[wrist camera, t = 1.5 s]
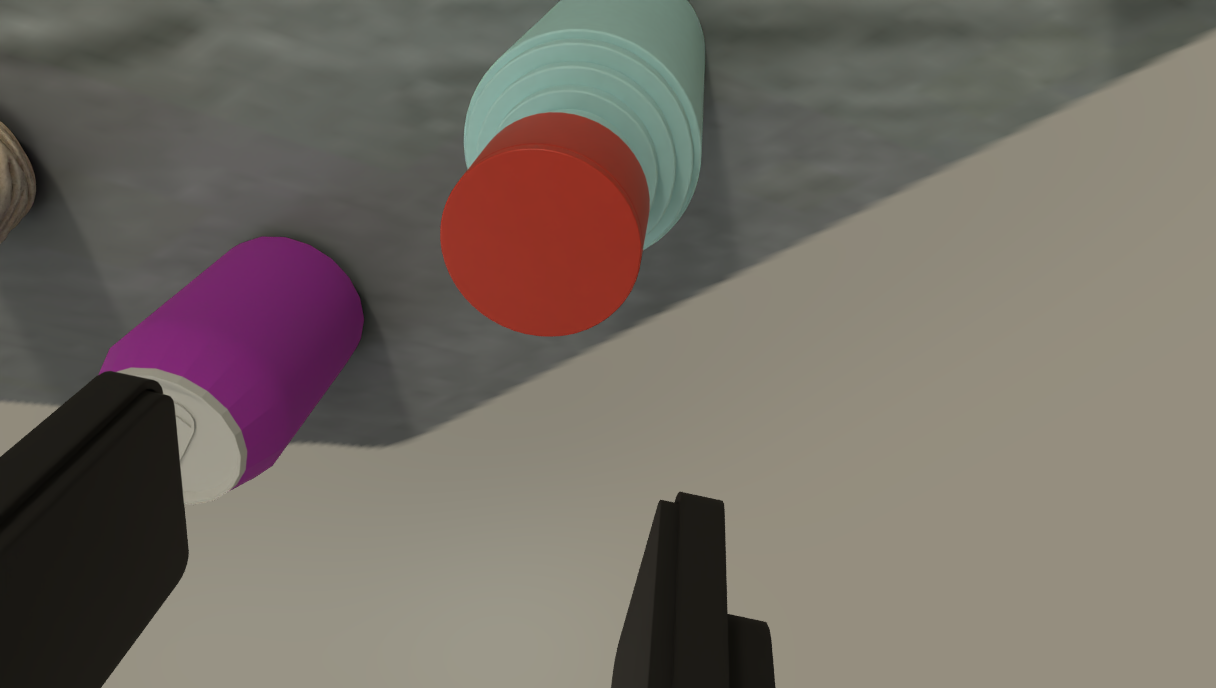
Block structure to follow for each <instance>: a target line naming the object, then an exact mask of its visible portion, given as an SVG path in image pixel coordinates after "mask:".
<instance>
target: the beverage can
mask: <svg viewBox="0 0 1216 688" xmlns="http://www.w3.org/2000/svg"><path fill="white" fill-rule="evenodd" d="M363 323H364V316H363V311H362V305H361V300H360V297H359V295H358V293H357V291H356V289H355V288H354V286H353V284H352V282H351V280H350V278H349V277H348V276H347V275H346V273H345V272H344V271H343V270H342V269H341V268H340V267H339V266H338V265H337V264H336V263H335V262H334V261H333V260H332V259H331V258H330V257H328V256H326V255H325V254H323V253H322V252H320V251H319V250H317V249H315V248H314V247H312V246H311V245H309V244H305V243H302V242H299V241H296V240H293V239H290V238H287V237H259V238H256V239H253V240H249V241H246V242H243V243H241V244H239V245H237V246H235V247H233V248H232V249H231V250H229V251H228V252H227V253H226V254H225V255H223V256H222V257H221V258H220V259H218V260H217V261H216V262H215V263H214V264H212V265H211V266H210V267H209V268H207V269H206V270H205V271H204V272H202V273H201V274H200V275H199V276H198V277H196V278H195V279H194V280H193V281H191V282H190V283H189V284H188V285H187V286H185V287H184V288H183V289H182V290H180V291H179V292H178V293H177V294H176V295H174V296H173V297H172V298H171V299H169V300H168V301H167V302H166V303H165V304H163V305H162V306H161V307H160V308H158V309H157V310H156V311H155V312H153V313H152V314H151V315H150V316H149V317H147V318H146V319H145V320H144V321H142V322H141V323H140V324H139V325H138V326H136V327H135V328H134V329H133V330H131V331H130V332H129V333H128V334H127V335H125V336H124V337H123V338H122V339H121V340H119V341H118V342H117V343H116V344H115V345H113V346H112V347H111V348H110V349H109V351H108V354H107V356H106V358H105V361H104V363H103V365H102V368H101V370H100V373H99V374H101V373H103V372H106V371H114V372H119V373H123V374H128V375H133V376H137V377H142V378H147V379H152V380H155V381H157V382H159V384H160V385H161V387H162V390H163V394H165V395H168V396H171V398H172V399H173V401H174V405H175V415H176V425H177V436H178V446H179V457H180V467H181V477H182V488H183V498H184V504H199V503H204V502H208V501H213V500H216V499H217V498H219V497H220V496H222V495H223V494H225V493H226V492H228V491H230V490H232V489H234V488H236V487H238V486H239V485H241V484H243V483H245V482H247V481H249V480H251V479H253V478H255V477H256V476H258V475H259V474H261V473H262V472H264V471H265V470H267V469H268V468H270V467H271V466H273V464H274V463H275V461H276V460H277V459H278V457H279V456H280V455H281V453H282V452H283V450H284V449H285V448H286V446H287V445H288V444H289V442H290V441H291V439H292V438H293V437H294V435H295V434H296V432H297V431H298V430H299V428H300V427H301V426H302V424H303V423H304V421H305V420H306V419H307V417H308V416H309V414H310V413H311V412H312V410H313V409H314V408H315V406H316V405H317V403H318V402H319V401H320V399H321V398H322V396H323V395H324V394H325V392H326V391H327V390H328V388H329V387H330V385H331V384H332V383H333V381H334V380H335V378H336V377H337V376H338V374H339V373H340V372H341V370H342V369H343V367H344V366H345V365H346V363H347V362H348V360H349V358H350V357H351V355H352V354H353V352H354V351H355V349H356V347H357V346H358V344H359V341H360V339H361V335H362V329H363Z"/></svg>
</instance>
